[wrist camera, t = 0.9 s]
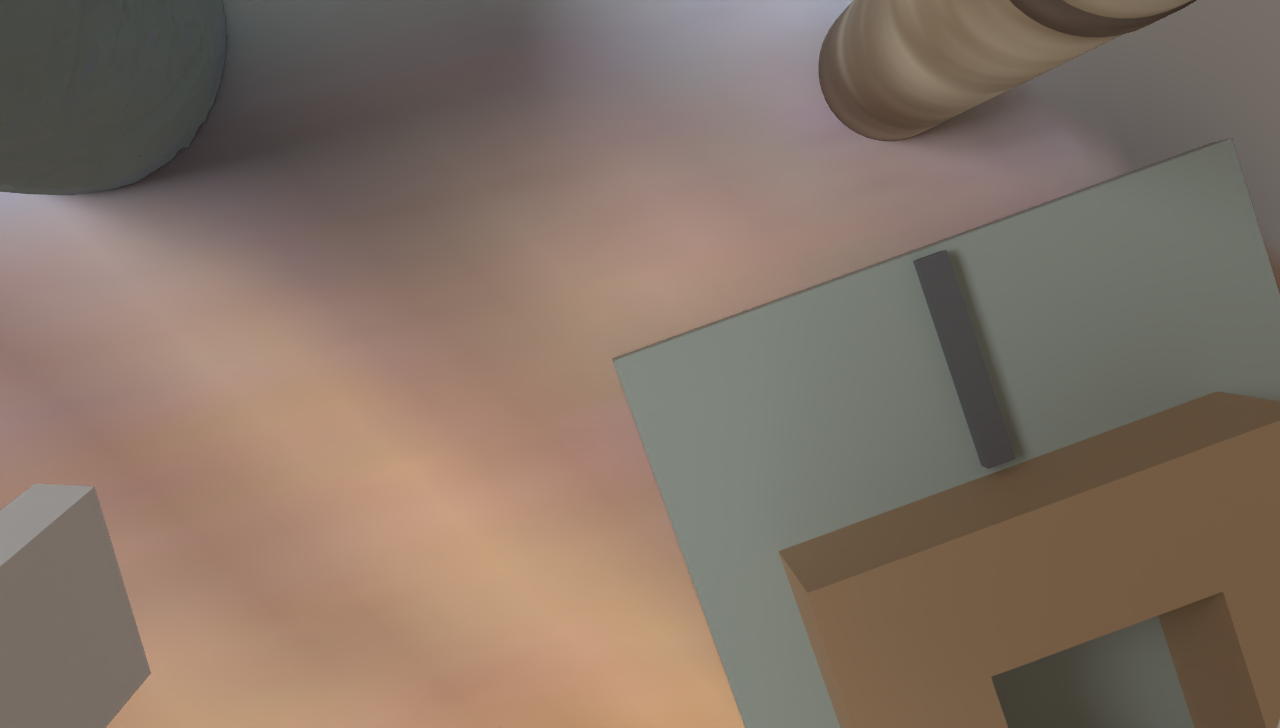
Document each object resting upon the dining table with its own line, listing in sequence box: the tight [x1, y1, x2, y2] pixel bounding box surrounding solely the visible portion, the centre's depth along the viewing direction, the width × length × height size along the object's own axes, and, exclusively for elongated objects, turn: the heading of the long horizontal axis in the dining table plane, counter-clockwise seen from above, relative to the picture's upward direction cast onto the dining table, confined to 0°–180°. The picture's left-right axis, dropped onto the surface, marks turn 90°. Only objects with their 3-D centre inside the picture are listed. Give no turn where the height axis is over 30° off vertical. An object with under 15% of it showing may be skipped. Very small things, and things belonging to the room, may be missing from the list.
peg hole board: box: [613, 138, 1280, 728], centre depth 28 cm, size 26×18×5 cm
